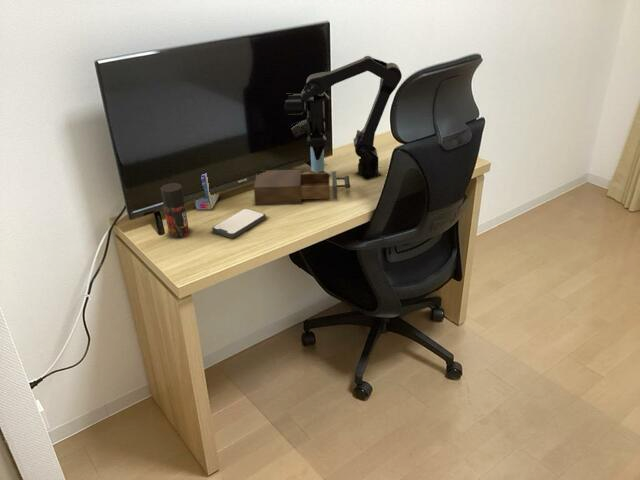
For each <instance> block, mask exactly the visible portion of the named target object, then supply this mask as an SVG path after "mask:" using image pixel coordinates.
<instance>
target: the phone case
mask: <svg viewBox="0 0 640 480" xmlns="http://www.w3.org/2000/svg"><path fill="white" fill-rule="evenodd" d="M265 219H266V213H263V212H260V211H257V210H254V209H250V208H242V209H241V210H239V211H238V212H236V213H234V214H232V215H230V216H229V217H227V218H225V219H223V220H222V221H220V222H219V223H216V224H215V225H213V226H212V230H211V231H212V232H213V233H215V234H217V235H221V236H224V237H227V238H230V239H234V238H237V237H238V236H240V235H241V234H243V233H245V232H246V231H248V230H249V229H251V228H252V227H254V226H256V225H257V224H259V223H261V222H263V221H264V220H265Z"/></svg>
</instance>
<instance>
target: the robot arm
mask: <svg viewBox="0 0 640 480" xmlns="http://www.w3.org/2000/svg"><path fill="white" fill-rule="evenodd" d="M366 72H369V73H371V74H373V75H374V76H376V77H378V78H380V80H379V88H378V91H377V94H376V96H375V98H374V101H373V104H372V106H371V109H370V111H369V114H368V117H367V118H366V122H365V125H364V127H363V128H362V130H360V129H357V130H356V135H355V137H354V138H353V147H354V151H355V155H357V157H358V163H357V172H356V173H355V174H356V175H357V176H359V177H361V178H363V179H365V180H370V179H373V178H376V177H380V176H382V173H380V172H379V156H378V151H377V148H376V147H375V146H374V141H375V136H376V135H375V134H376V131H377V129H378V126H379V125H380V122H381V119H382V117H383V114H384V112H385V109H386V106H387V104H388V101H389V99H390V97H391V95H392V94H393V92H394V91H395V90H396V88H397V87H398V85H399V84H400V82H401V80H402V77H403V76H402V75H403V74H402V72H401V69H400V67H399V66H398V64H396V63H395V62H385V61H383V60H380V59H378V58H377V59H376V58H375V57H372V56H371V55H365V56H364V57H362V58H359V59H358V60H355V61H352V62H350V63H348V64H345V65H343V66H340V67H338V68H335V69H333V70H330V71H321V72H316V73H312V74H310V75H309V76H308V77H307V79H306V83H305V86H304V88H303V89H302V90H301V93H292V94H293V95H288V99H287V100H285V99H284V115H285V114H288V115H289V116H290V115H291V116H293V115H295V116H296V115H303V113H304V112H307V115H306V119H304V120H300V121H301V122H300V121H298V122H299V123H298V122H297V123H298V124H296V125H295V126H293V127H292V128H291V127H290V130H291V132H292V134H293V136H294V138H297V137H299V136H301V135H303V134H307V136H308V137H307V138H306V139H307V140H306V141H307V147H308V148H310V147H313V151H314V154H315V158H316V160H319V159H320V156H321V154H322V151H323V149H324V150H325V147H326V146H327V137H326V122H325V119H326V117H325V102H330V96H329V95H328V94H327V93H326V91H328V90H329V89H330V88H331V87H333V86H334V85H336V84H338V83H341V82H343V81H347V80H349V79H351V78H353V77H356V76H358V75H361V74H364V73H366ZM288 115H287V116H288ZM308 134H309V135H308Z"/></svg>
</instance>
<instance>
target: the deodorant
mask: <svg viewBox="0 0 640 480" xmlns="http://www.w3.org/2000/svg"><path fill="white" fill-rule="evenodd" d="M160 195H161V198H162V199H161V200H162V204H163V210H164V215H165V219H166V225H167V231H168V236H169V237H170V238H172V239H183V238H185V237H187V236H188V235H189V234H190V228H189V222H188V215H187V209H186V203H185V197H184V190H183V186H182V184H181V183H178V182H171V183H166V184H163V185H162V186H161V187H160Z"/></svg>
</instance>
